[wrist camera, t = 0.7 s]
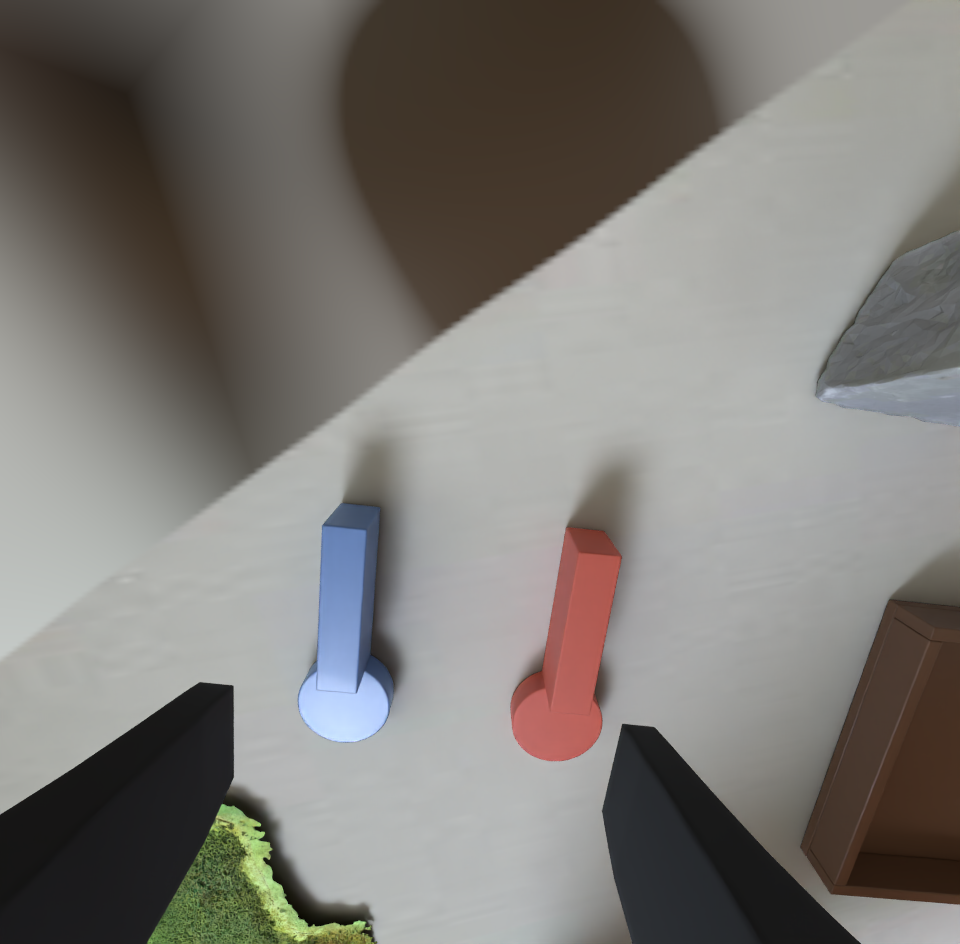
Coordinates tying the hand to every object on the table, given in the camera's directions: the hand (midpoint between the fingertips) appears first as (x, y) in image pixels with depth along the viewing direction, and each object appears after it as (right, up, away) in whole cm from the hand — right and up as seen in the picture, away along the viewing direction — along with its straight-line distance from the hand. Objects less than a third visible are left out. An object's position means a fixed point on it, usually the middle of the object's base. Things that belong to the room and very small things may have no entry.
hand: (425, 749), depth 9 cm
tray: (+20, -6, +11) cm, 23 cm away
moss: (-11, -14, +13) cm, 21 cm away
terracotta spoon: (+4, -1, +9) cm, 10 cm away
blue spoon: (-4, 0, +9) cm, 10 cm away
